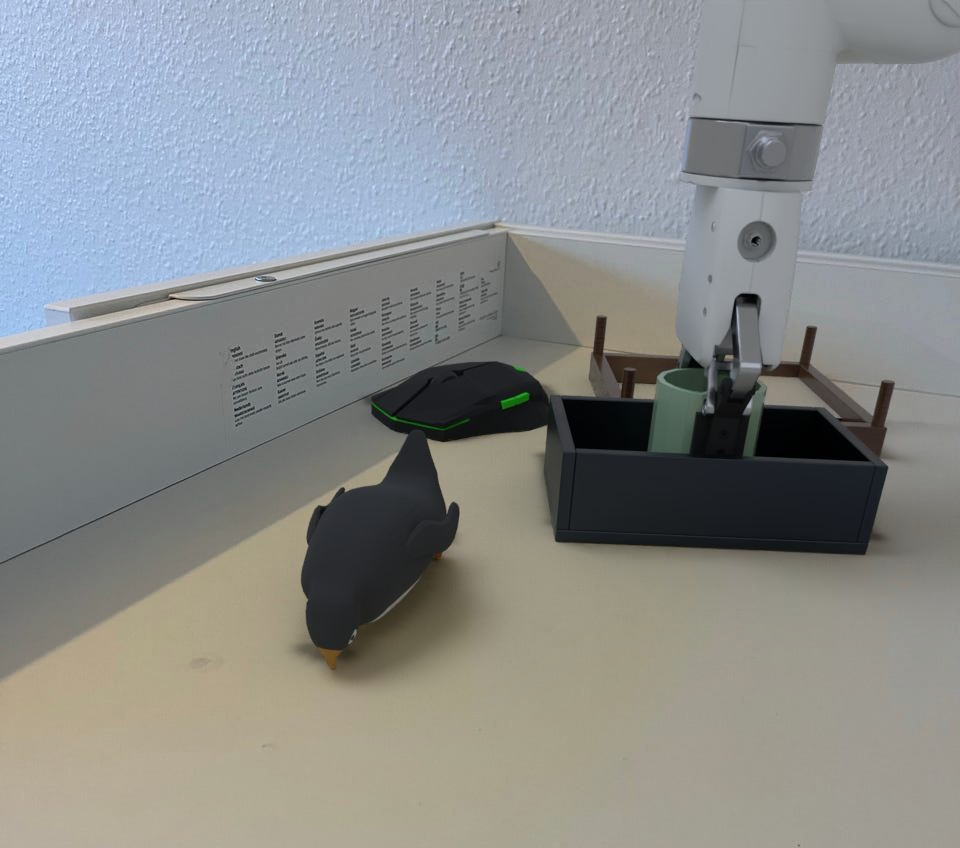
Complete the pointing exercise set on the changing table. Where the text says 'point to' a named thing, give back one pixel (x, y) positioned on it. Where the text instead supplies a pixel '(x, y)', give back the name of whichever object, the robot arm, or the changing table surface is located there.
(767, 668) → the changing table surface
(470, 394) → the computer mouse
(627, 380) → the frame
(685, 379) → the cup
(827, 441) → the black open box
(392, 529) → the figurine
